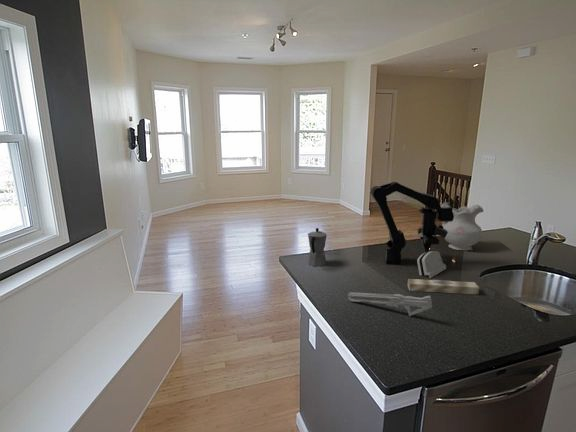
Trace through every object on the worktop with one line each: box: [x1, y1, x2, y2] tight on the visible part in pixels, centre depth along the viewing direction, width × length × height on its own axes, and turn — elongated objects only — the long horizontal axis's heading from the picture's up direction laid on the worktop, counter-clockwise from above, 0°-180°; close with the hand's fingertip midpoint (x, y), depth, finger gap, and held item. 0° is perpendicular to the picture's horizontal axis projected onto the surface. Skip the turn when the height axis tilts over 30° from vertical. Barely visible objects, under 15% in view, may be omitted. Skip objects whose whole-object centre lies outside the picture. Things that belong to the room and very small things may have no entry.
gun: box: [347, 291, 433, 317], centre depth 128 cm, size 2×30×8 cm, turn 59°
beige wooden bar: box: [407, 278, 480, 295], centre depth 143 cm, size 26×5×3 cm, turn 81°
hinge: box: [416, 250, 447, 279], centre depth 162 cm, size 17×5×10 cm, turn 133°
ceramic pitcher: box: [440, 201, 484, 252], centre depth 191 cm, size 22×20×25 cm
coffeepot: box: [307, 227, 328, 267], centre depth 171 cm, size 15×9×18 cm, turn 160°
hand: (426, 252), depth 172 cm, fingers closed
